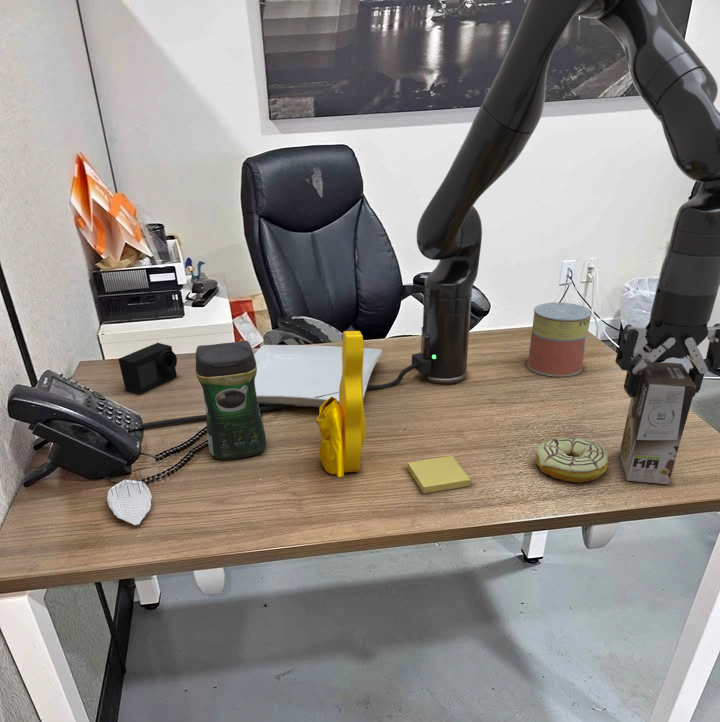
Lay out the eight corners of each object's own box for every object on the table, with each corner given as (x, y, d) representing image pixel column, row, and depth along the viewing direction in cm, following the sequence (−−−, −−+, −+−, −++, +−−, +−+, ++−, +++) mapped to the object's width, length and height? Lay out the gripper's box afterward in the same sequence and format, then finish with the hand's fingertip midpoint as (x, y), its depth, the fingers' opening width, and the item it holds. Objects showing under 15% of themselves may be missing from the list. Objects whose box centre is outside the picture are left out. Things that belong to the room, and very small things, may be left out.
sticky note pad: (423, 493, 98) (423, 487, 97) (407, 468, 104) (407, 462, 103) (470, 486, 99) (471, 479, 99) (452, 461, 106) (452, 455, 105)
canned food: (588, 376, 134) (598, 319, 127) (533, 377, 134) (540, 320, 128) (574, 356, 143) (582, 302, 137) (522, 356, 144) (529, 302, 137)
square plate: (383, 363, 142) (383, 346, 140) (361, 419, 119) (361, 400, 117) (263, 357, 146) (262, 341, 144) (220, 411, 123) (217, 392, 121)
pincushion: (159, 522, 93) (152, 489, 90) (115, 533, 91) (105, 500, 88) (146, 482, 102) (138, 450, 99) (105, 491, 100) (96, 459, 97)
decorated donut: (538, 448, 109) (541, 428, 107) (606, 457, 106) (610, 437, 104) (531, 479, 100) (534, 458, 98) (604, 490, 97) (609, 469, 95)
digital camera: (143, 396, 130) (136, 363, 126) (125, 390, 132) (117, 358, 129) (181, 378, 137) (176, 346, 134) (163, 373, 140) (157, 341, 136)
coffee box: (670, 485, 98) (697, 386, 90) (625, 481, 100) (648, 383, 91) (659, 455, 106) (683, 362, 97) (618, 452, 107) (638, 359, 99)
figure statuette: (311, 442, 112) (303, 317, 101) (356, 437, 113) (353, 313, 102) (327, 498, 97) (319, 358, 86) (378, 491, 99) (377, 353, 87)
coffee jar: (263, 434, 115) (252, 332, 105) (269, 456, 108) (257, 349, 99) (207, 442, 113) (191, 339, 103) (210, 464, 106) (192, 356, 97)
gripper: (728, 276, 91) (697, 384, 100) (625, 277, 91) (603, 384, 100) (755, 292, 84) (719, 405, 93) (644, 293, 85) (619, 406, 93)
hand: (659, 394), depth 96 cm, fingers open, 8 cm apart
